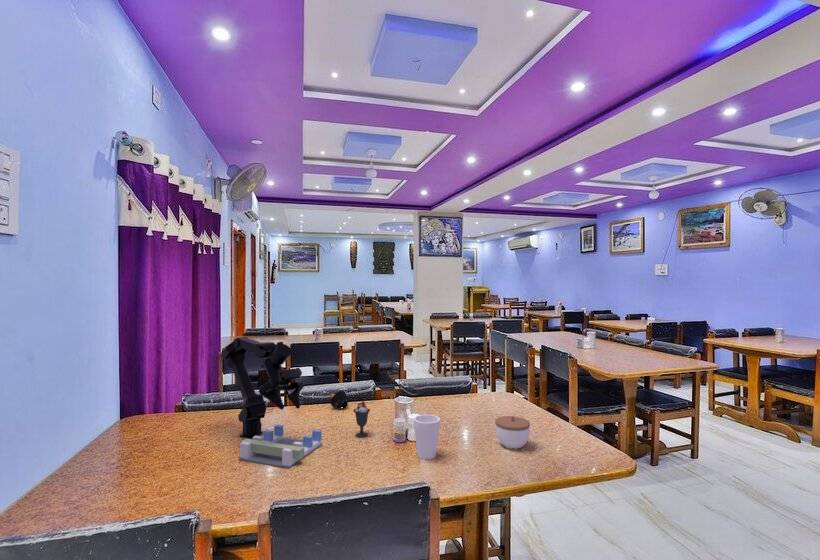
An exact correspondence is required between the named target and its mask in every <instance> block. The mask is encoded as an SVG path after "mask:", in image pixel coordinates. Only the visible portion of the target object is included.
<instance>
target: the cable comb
mask: <svg viewBox="0 0 820 560" xmlns="http://www.w3.org/2000/svg"><path fill="white" fill-rule="evenodd" d="M322 432H323V431H322V430H320V429H313V430H312V431H311V433H312V434H311V435H307V434H306V435H303V436H302V439H296V438H291V437H290V438H289V437H284V425H282V424H275V425H274V426H273V430H271V429H270V430H269V429H266V430H264V431H263V436H260V435H258V436H254V437H253V438H252V440H259V441H265V442H272V443H278V444H285V445H292V446H298V447H304V457H302V458H301V459H300V460H297V459H293V449H287V448H285V449H283V450H282V457H278V456H272V455H266V454H260V453H254V452H251V443H248V442H242V443H241V442H240V446H239V448H240V455H239V456H240V457H239V458H238V461H242V462H246V463H247V462H248V463H254V464H258V465H259V464H260V465H265V466H271V467H277V468H282V469H287V470H288V469H291V468H292V467H293V466H295V465H296V464H297V463H299V462H300V461H302V460H303V459H305V458H306V457H307V456H308V455H310V454H312V453H313V452H314V451H316V450H317V449H318V448H320V447H321V446H322V445H323V442H322V440H323V439H322V437H323V435H322Z"/></svg>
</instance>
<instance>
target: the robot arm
mask: <svg viewBox="0 0 820 560" xmlns="http://www.w3.org/2000/svg"><path fill="white" fill-rule="evenodd" d="M248 352H251V353H253V356H254V357H255V358H256V359H258V360H262V359H265V360H263V361H262V363H261V365H260V367H261V369H265V372H266V374H267V377H266V378H265V379H266V382H265V383H264V384H263V385H261V386H260V387H259V390H258V393H259V394H257V393H256V391H255V389H254V386H253V383H252V381H251V379H250V375H249V373H248V370H247V367H246V365H245V359H246V354H247V353H248ZM291 354H292V348H291V347H290V346H289V345H287V344H285V343H284V341H278V342H277V343H275V342H273V341H271V342H270V341H267V342H266V341H265V342H260V341H258V340H255V339H251V338H248V337H246V336H243V337H241V336H240V337H236V338H234V340H232V342H230V343H229V344H227V345H226V346H225V347H224V348H223V350H222V352H221V358H222V359H223V362H224V363H225V365H226V366H228V367H229V368H230V369H232V372H233V374H234V378H235V380H236V382H237V386H238V388H239V391H240V393H241V397H242V402H241V403H242V404H241V411H240V413H239V414H238V416H237V418H238V422H241V423H242V433H240V434H239V437H242V438H246V439H253V437H254V436H260V435H262V434H264V431H262V421H261V419H264V418H265V415H266V412H267V404H266V401H265V400H264V398H266V399H267V400H268V401H270V402H271V403H272V404H274V406H276V407H277V408H279V410H283V409H284V408H285V407H284V402H283V400H282V397H281V393H280V392H284V394H286V397H287V399H289V401H290V402H291V404H293V406H294V407H295V408H296V409H297V410H298V409H300V408H301V404H300V403H301V402H300V401H301V400H300V393H301V391H302V390H303V388H304V383H303V382H302V381H296V380H295V379H300V378H301V376H302V374H303V372H302V370H301V369H300V367H295V368H289V369H284V368H283V367H282V365H284V364H285V362H287V360H288V359H289V357H291ZM293 380H295V381H293Z"/></svg>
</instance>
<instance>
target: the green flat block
mask: <svg viewBox="0 0 820 560" xmlns="http://www.w3.org/2000/svg"><path fill="white" fill-rule="evenodd" d="M242 442H248V443H251V452H254V453H260V454H266V455H272V456H278V457H282V450H283V449H285V448H287V449H293V459H297V460H300V459H301V458H302V457H304V447H298V446H292V445H285V444H278V443H272V442H265V441H264V440H262V441H259V440H253V438H244V439H243V440H241V441H240V444H241V443H242ZM304 458H305V457H304ZM300 461H301V460H300Z"/></svg>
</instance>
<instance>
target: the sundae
mask: <svg viewBox="0 0 820 560" xmlns="http://www.w3.org/2000/svg"><path fill="white" fill-rule="evenodd" d="M365 400H366V398H364V399H363V400H362V402H358V403H357V405H356V408H354V409H353V413H354V414H355V420H356V425H358V427H359V428H360V430H359V432H357V433H356V434H355V437H356V438H366V437H368V435H369V434H368V433H367V432H364V427H365V426H366V425H367V423H368V418H369V413H370V412H371V409H369V408H368V406H367V404H366V403H365Z"/></svg>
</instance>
